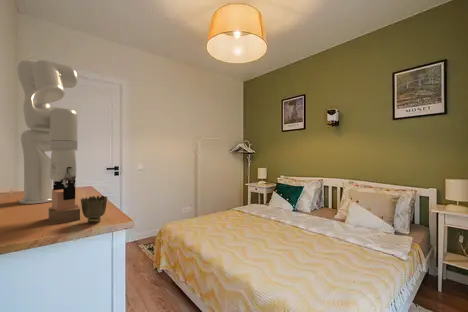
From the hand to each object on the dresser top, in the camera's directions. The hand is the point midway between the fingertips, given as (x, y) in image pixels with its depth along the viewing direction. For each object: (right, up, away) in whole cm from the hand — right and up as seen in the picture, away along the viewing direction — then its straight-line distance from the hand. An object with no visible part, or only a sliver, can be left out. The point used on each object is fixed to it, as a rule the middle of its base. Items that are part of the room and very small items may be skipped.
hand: (64, 197), depth 79 cm
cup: (+12, -8, -3) cm, 14 cm away
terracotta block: (0, -4, 0) cm, 4 cm away
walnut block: (0, -8, 0) cm, 8 cm away
